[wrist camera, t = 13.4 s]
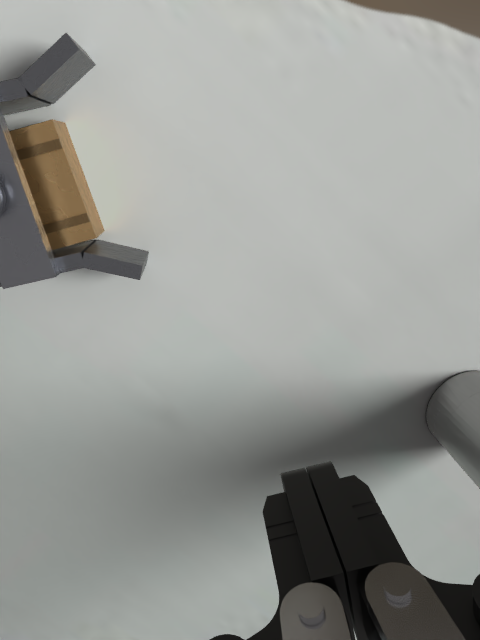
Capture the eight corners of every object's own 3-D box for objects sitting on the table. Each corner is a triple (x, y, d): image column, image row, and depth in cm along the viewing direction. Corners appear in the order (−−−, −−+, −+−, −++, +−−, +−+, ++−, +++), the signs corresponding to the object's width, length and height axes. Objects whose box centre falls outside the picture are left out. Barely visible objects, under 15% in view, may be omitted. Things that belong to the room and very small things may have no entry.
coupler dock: (91, 49, 36) (62, 18, 28) (152, 263, 42) (142, 288, 34) (-107, 92, 35) (-196, 73, 27) (-17, 301, 41) (-67, 337, 33)
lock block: (65, 123, 37) (51, 119, 34) (105, 230, 41) (96, 238, 37) (-29, 149, 37) (-55, 148, 33) (17, 254, 41) (-2, 265, 37)
